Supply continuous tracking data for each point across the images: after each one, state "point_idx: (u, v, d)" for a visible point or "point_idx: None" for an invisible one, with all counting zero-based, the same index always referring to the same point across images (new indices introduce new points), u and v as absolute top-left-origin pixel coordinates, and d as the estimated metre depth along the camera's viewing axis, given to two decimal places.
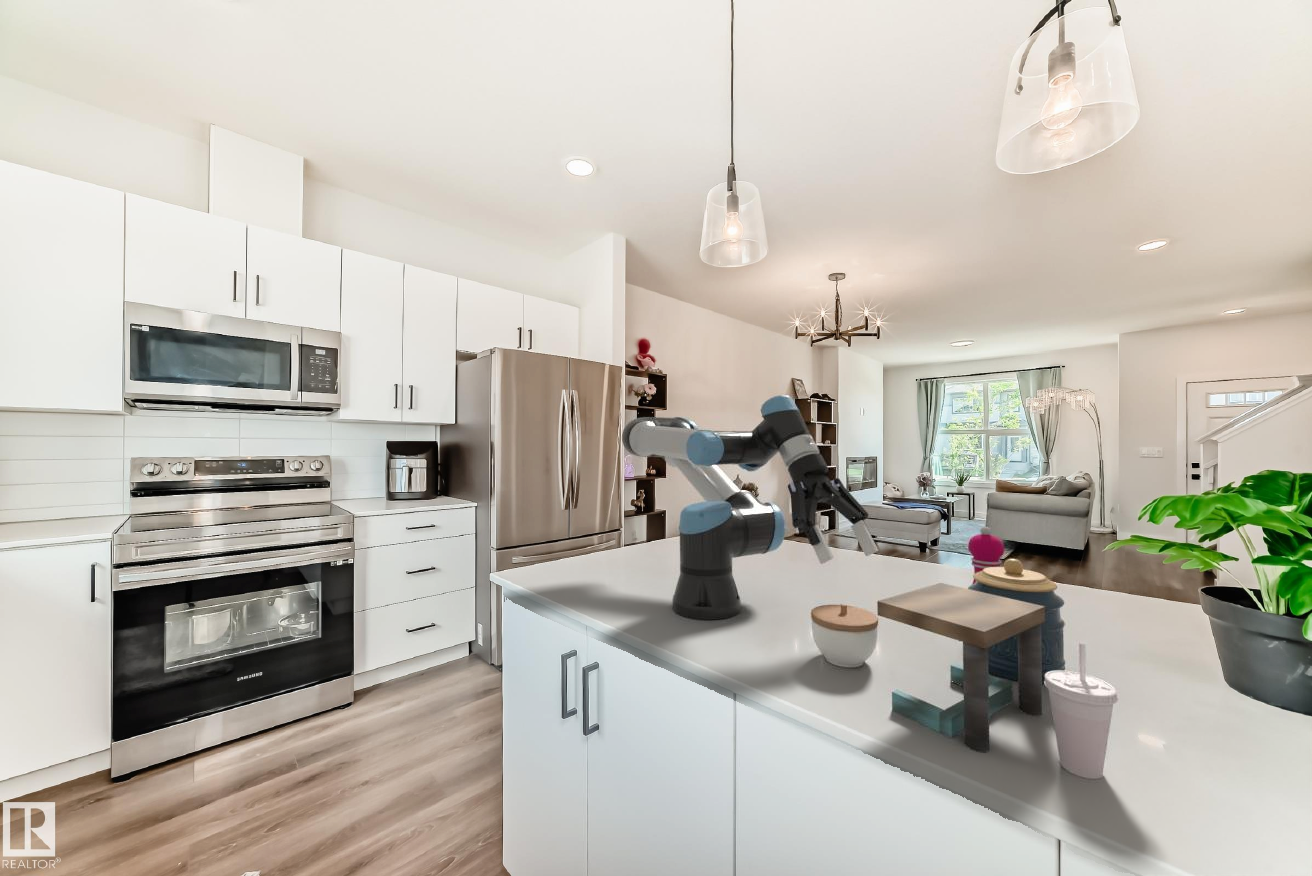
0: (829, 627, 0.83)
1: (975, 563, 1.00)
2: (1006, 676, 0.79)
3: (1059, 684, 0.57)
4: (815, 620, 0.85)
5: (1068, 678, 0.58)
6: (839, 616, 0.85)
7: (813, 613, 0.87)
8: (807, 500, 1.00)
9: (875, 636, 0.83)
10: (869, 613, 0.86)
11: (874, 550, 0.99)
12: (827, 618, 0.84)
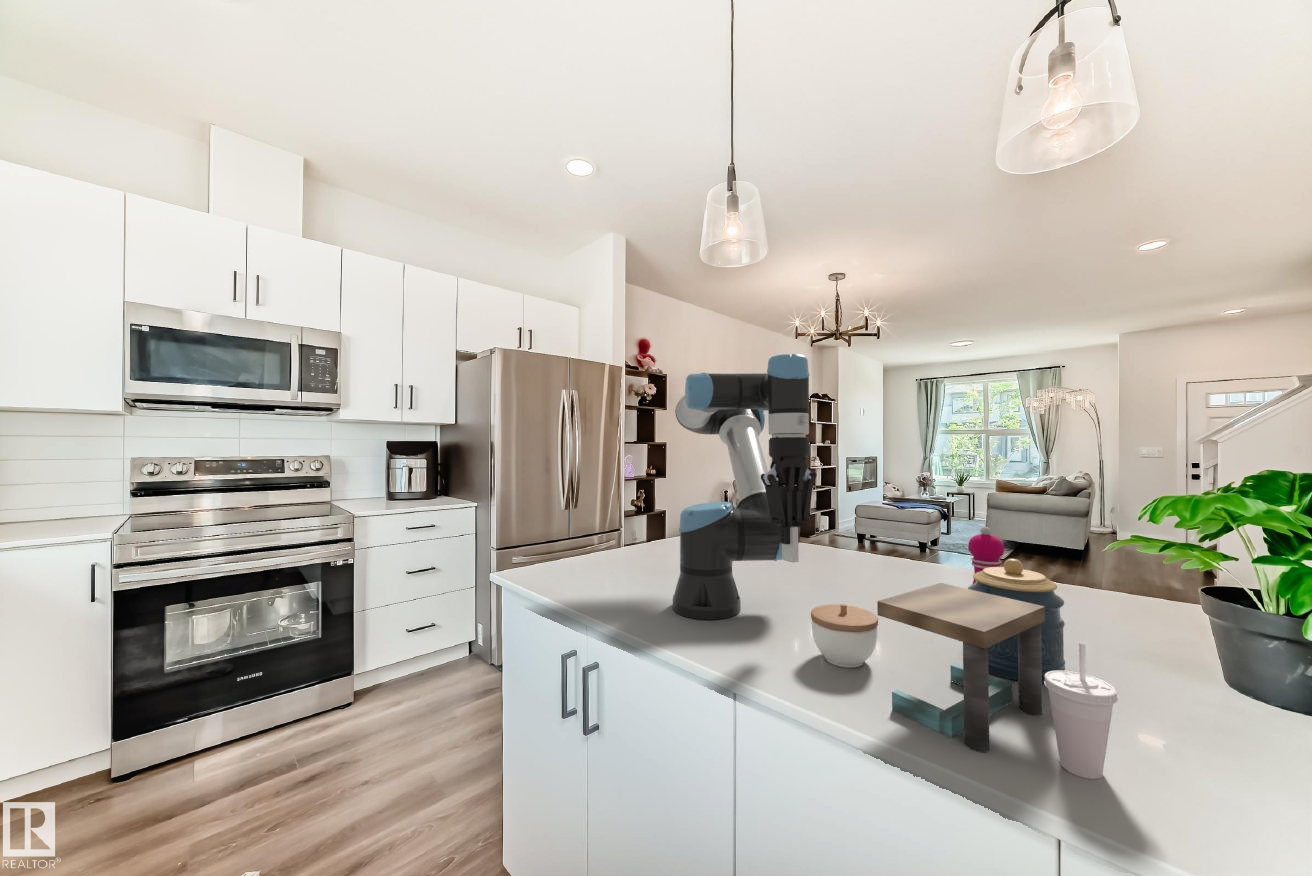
0: (829, 627, 0.83)
1: (975, 563, 1.00)
2: (1006, 676, 0.79)
3: (1059, 684, 0.57)
4: (815, 620, 0.85)
5: (1068, 678, 0.58)
6: (839, 616, 0.85)
7: (813, 613, 0.87)
8: (781, 490, 0.96)
9: (875, 636, 0.83)
10: (869, 613, 0.86)
11: None
12: (827, 618, 0.84)
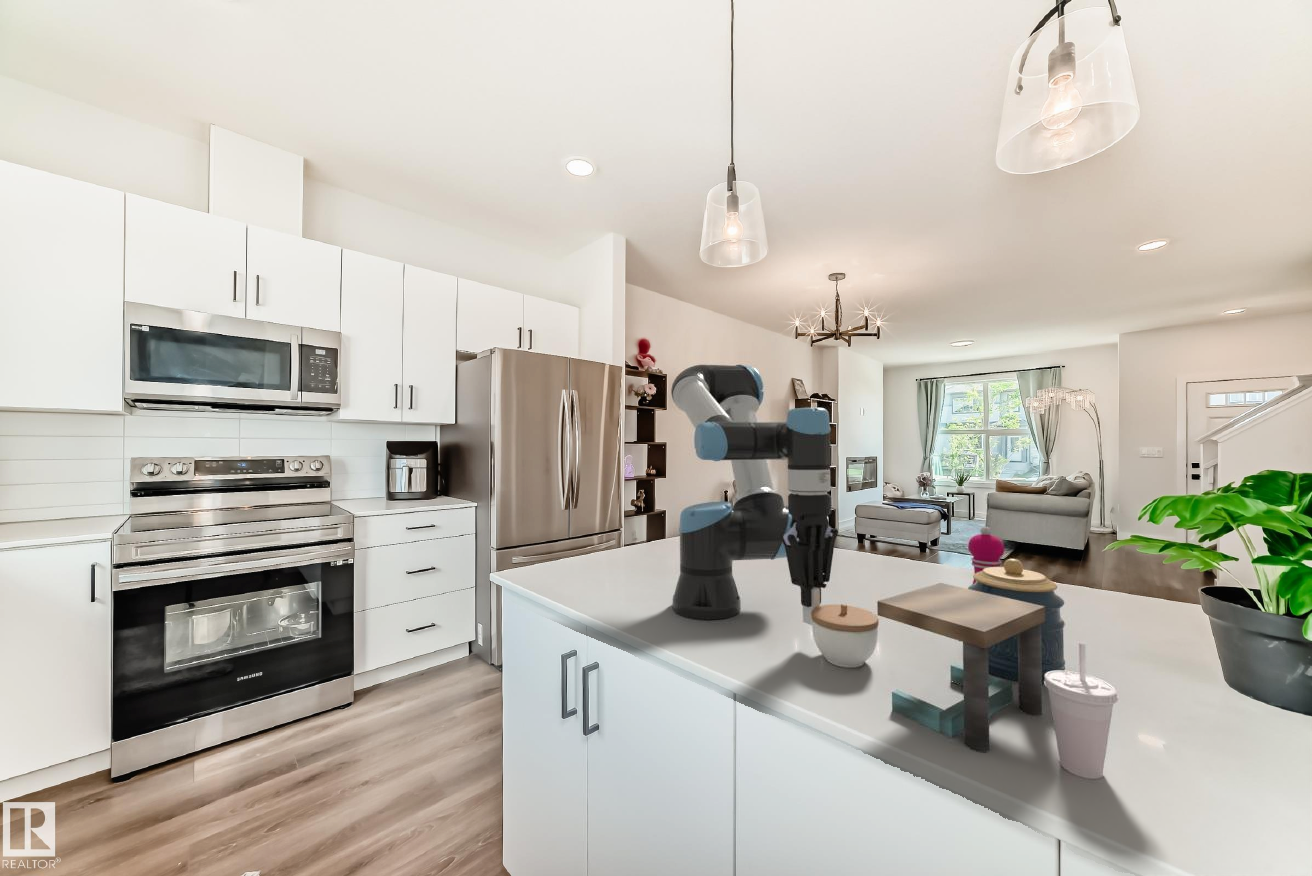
0: (829, 627, 0.83)
1: (975, 563, 1.00)
2: (1006, 676, 0.79)
3: (1059, 684, 0.57)
4: (815, 620, 0.85)
5: (1068, 678, 0.58)
6: (839, 616, 0.85)
7: (813, 613, 0.87)
8: (801, 549, 0.91)
9: (875, 636, 0.83)
10: (869, 613, 0.86)
11: None
12: (828, 618, 0.84)
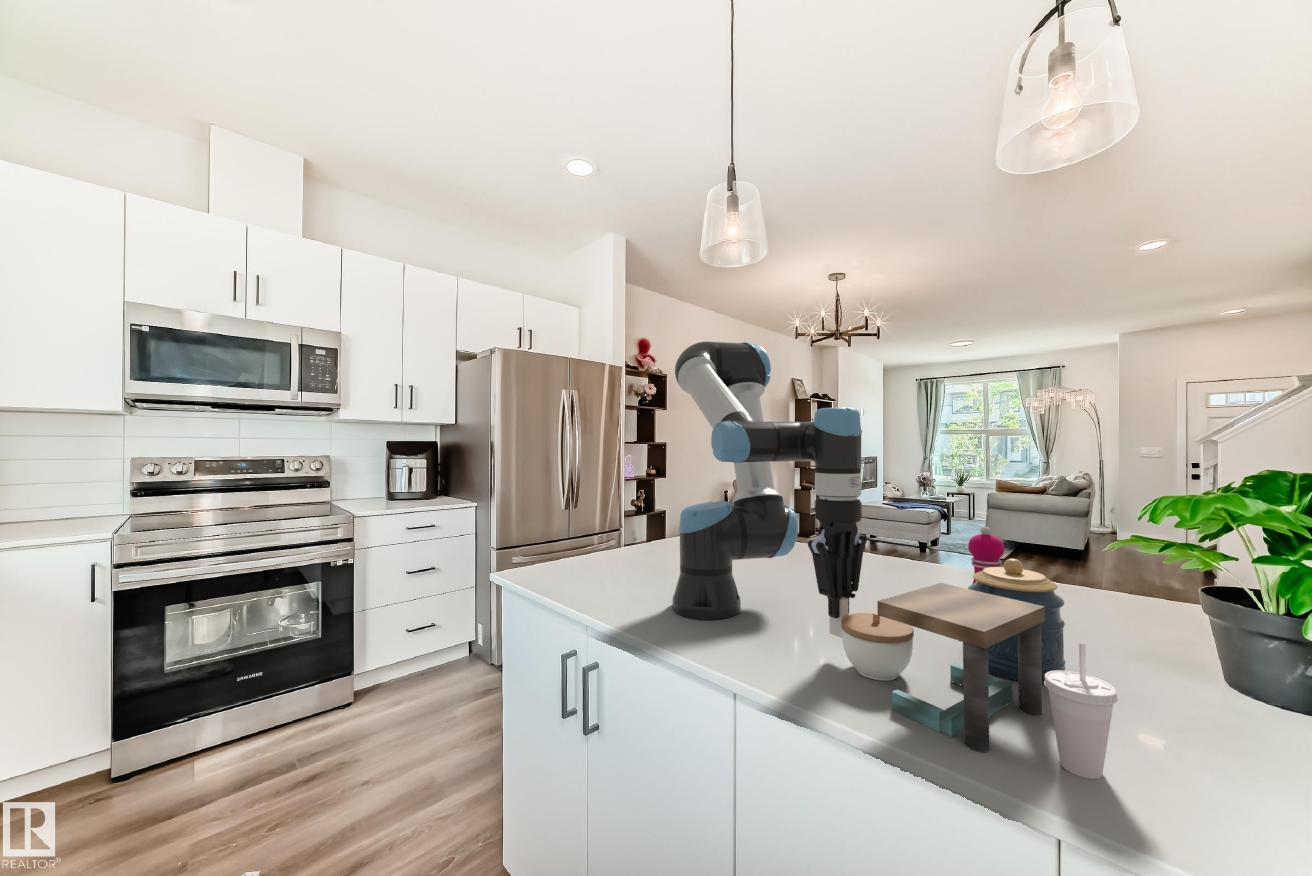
0: (864, 638, 0.78)
1: (975, 563, 1.00)
2: (1006, 676, 0.79)
3: (1059, 684, 0.57)
4: (848, 631, 0.80)
5: (1068, 678, 0.58)
6: (873, 626, 0.80)
7: (844, 623, 0.82)
8: (829, 557, 0.86)
9: (911, 647, 0.78)
10: None
11: None
12: (861, 629, 0.79)
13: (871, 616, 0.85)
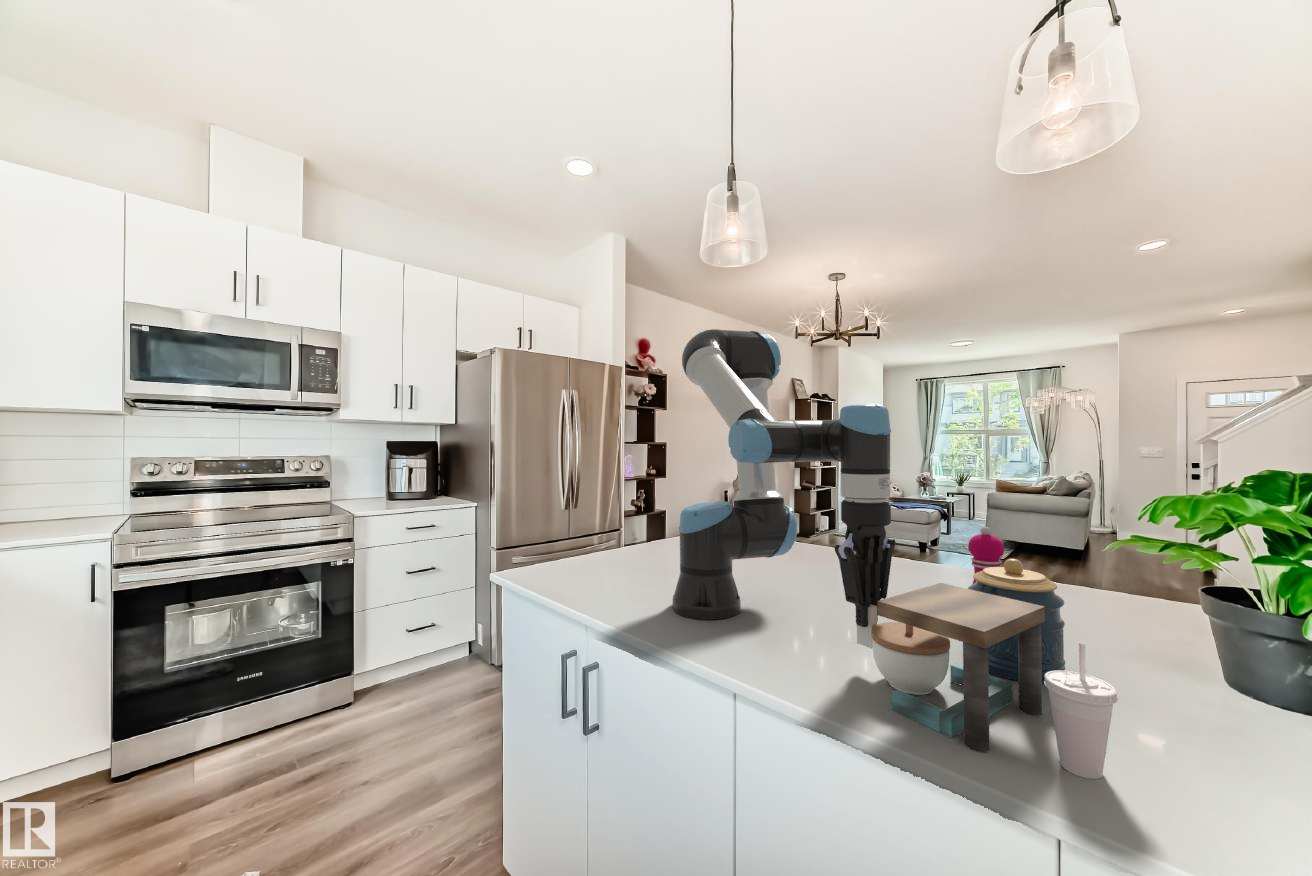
0: (900, 651, 0.73)
1: (975, 563, 1.00)
2: (1006, 676, 0.79)
3: (1059, 684, 0.57)
4: (881, 642, 0.75)
5: (1068, 678, 0.58)
6: (907, 637, 0.76)
7: (876, 634, 0.77)
8: (857, 563, 0.82)
9: (948, 658, 0.74)
10: None
11: None
12: (896, 640, 0.74)
13: (902, 625, 0.80)
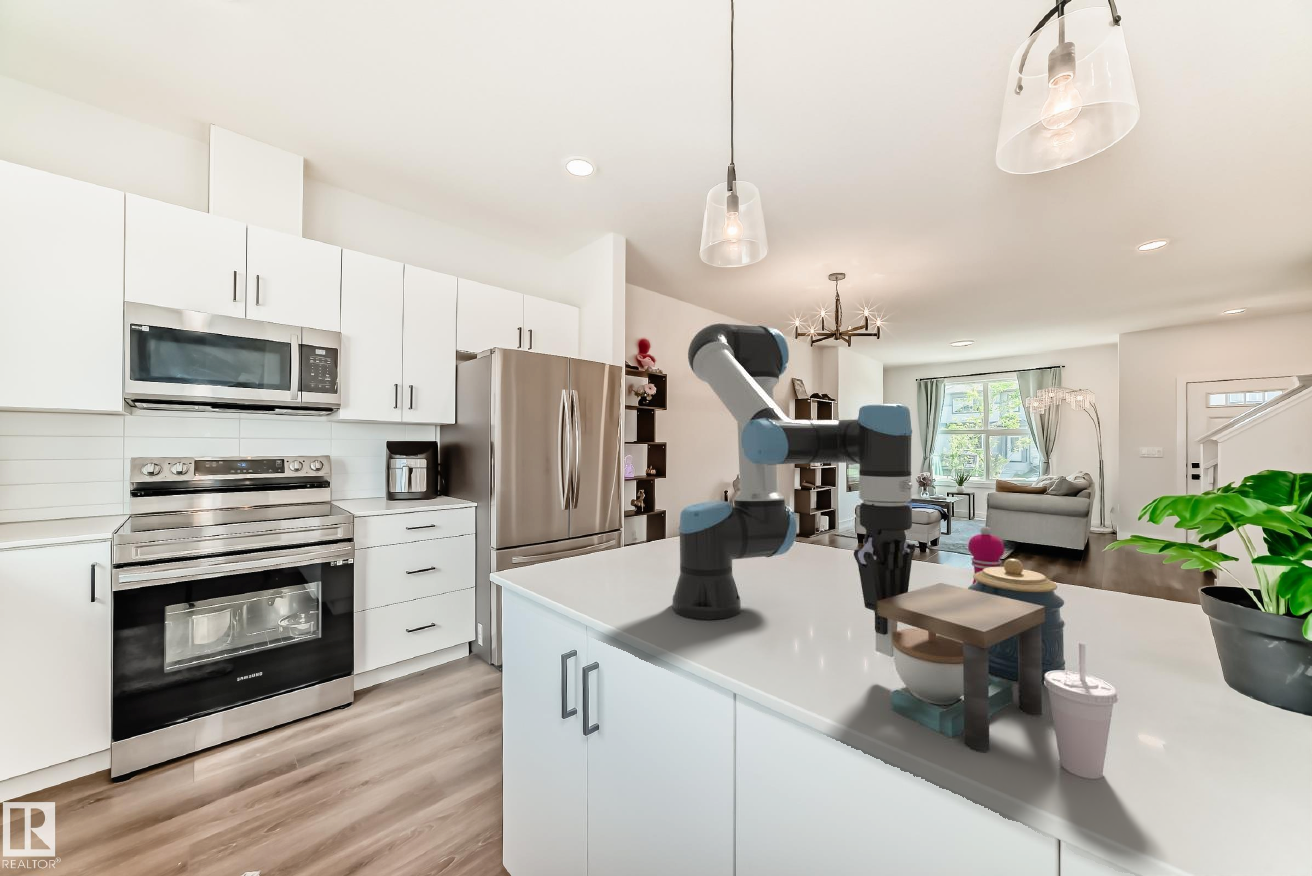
0: (925, 659, 0.70)
1: (975, 563, 1.00)
2: (1006, 676, 0.79)
3: (1059, 684, 0.57)
4: (904, 650, 0.73)
5: (1068, 678, 0.58)
6: (931, 644, 0.73)
7: (898, 642, 0.74)
8: (876, 568, 0.79)
9: None
10: None
11: None
12: (920, 648, 0.72)
13: (923, 632, 0.77)
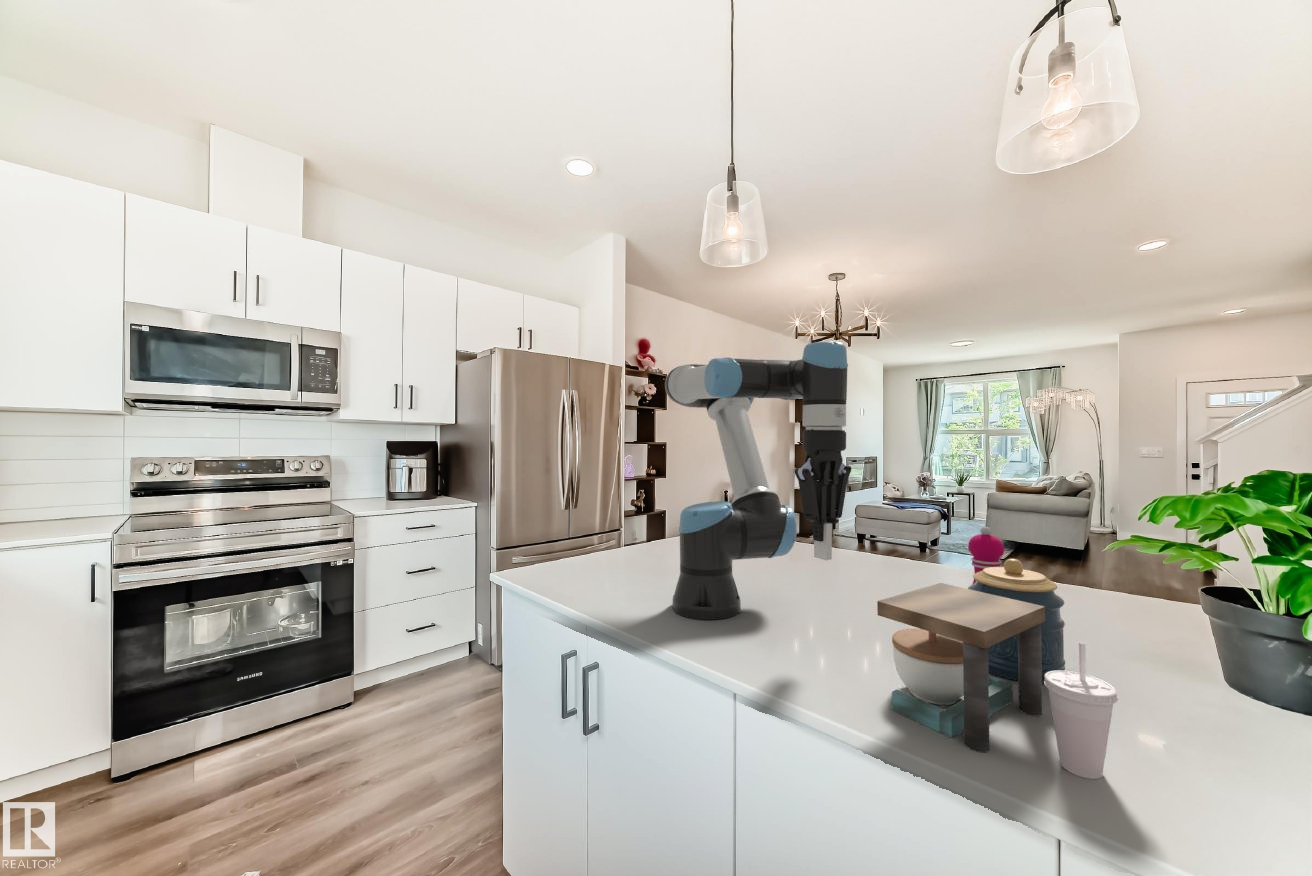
0: (925, 659, 0.70)
1: (975, 563, 1.00)
2: (1006, 676, 0.79)
3: (1059, 684, 0.57)
4: (904, 651, 0.73)
5: (1068, 678, 0.58)
6: (931, 644, 0.73)
7: (898, 642, 0.74)
8: (815, 485, 0.91)
9: None
10: None
11: None
12: (920, 648, 0.72)
13: (923, 632, 0.77)
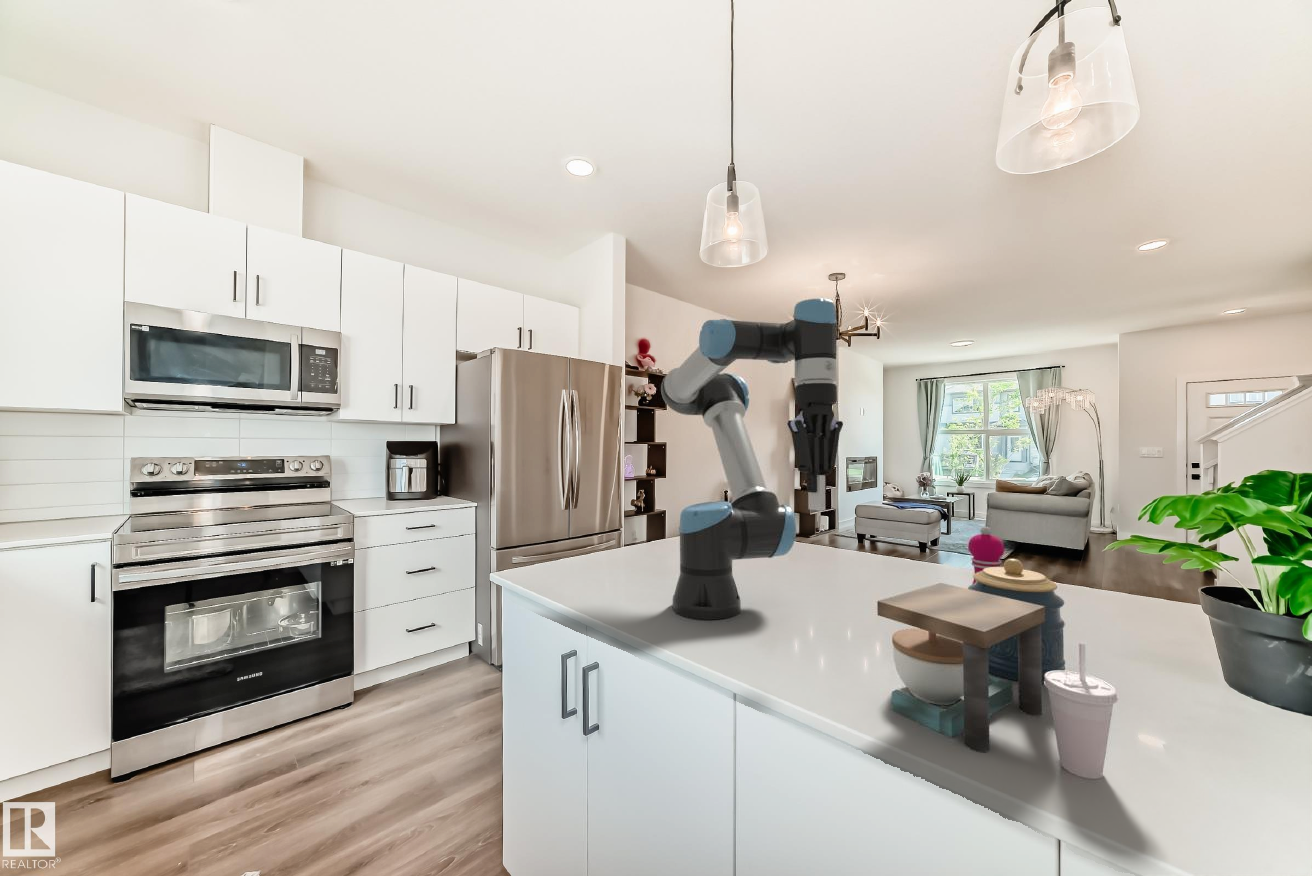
0: (925, 659, 0.70)
1: (975, 563, 1.00)
2: (1006, 676, 0.79)
3: (1059, 684, 0.57)
4: (904, 651, 0.73)
5: (1068, 678, 0.58)
6: (931, 644, 0.73)
7: (898, 642, 0.74)
8: (808, 438, 0.94)
9: None
10: None
11: None
12: (920, 648, 0.72)
13: (923, 632, 0.77)
